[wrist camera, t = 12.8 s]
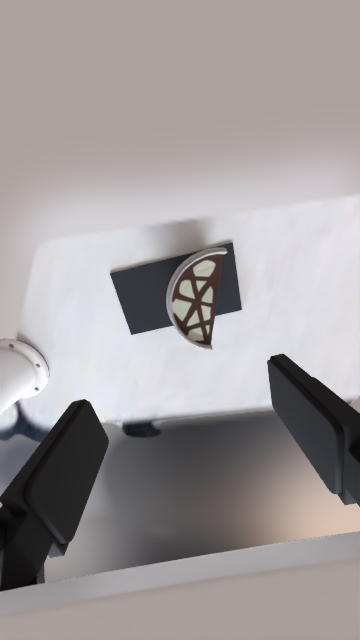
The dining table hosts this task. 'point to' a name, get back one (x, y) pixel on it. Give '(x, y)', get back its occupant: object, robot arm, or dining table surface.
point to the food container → (196, 296)
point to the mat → (151, 289)
